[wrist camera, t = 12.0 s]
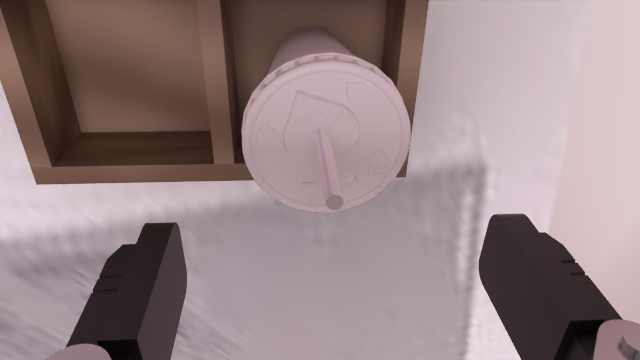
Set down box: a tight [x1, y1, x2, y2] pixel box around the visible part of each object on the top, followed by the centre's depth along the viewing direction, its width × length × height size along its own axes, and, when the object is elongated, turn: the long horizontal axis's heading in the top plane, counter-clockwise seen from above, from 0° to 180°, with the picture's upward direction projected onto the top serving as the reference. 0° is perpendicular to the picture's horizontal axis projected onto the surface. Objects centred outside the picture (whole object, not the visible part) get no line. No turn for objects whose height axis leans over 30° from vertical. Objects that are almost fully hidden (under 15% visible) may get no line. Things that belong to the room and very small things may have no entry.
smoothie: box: [241, 26, 411, 212], centre depth 19 cm, size 6×6×14 cm
